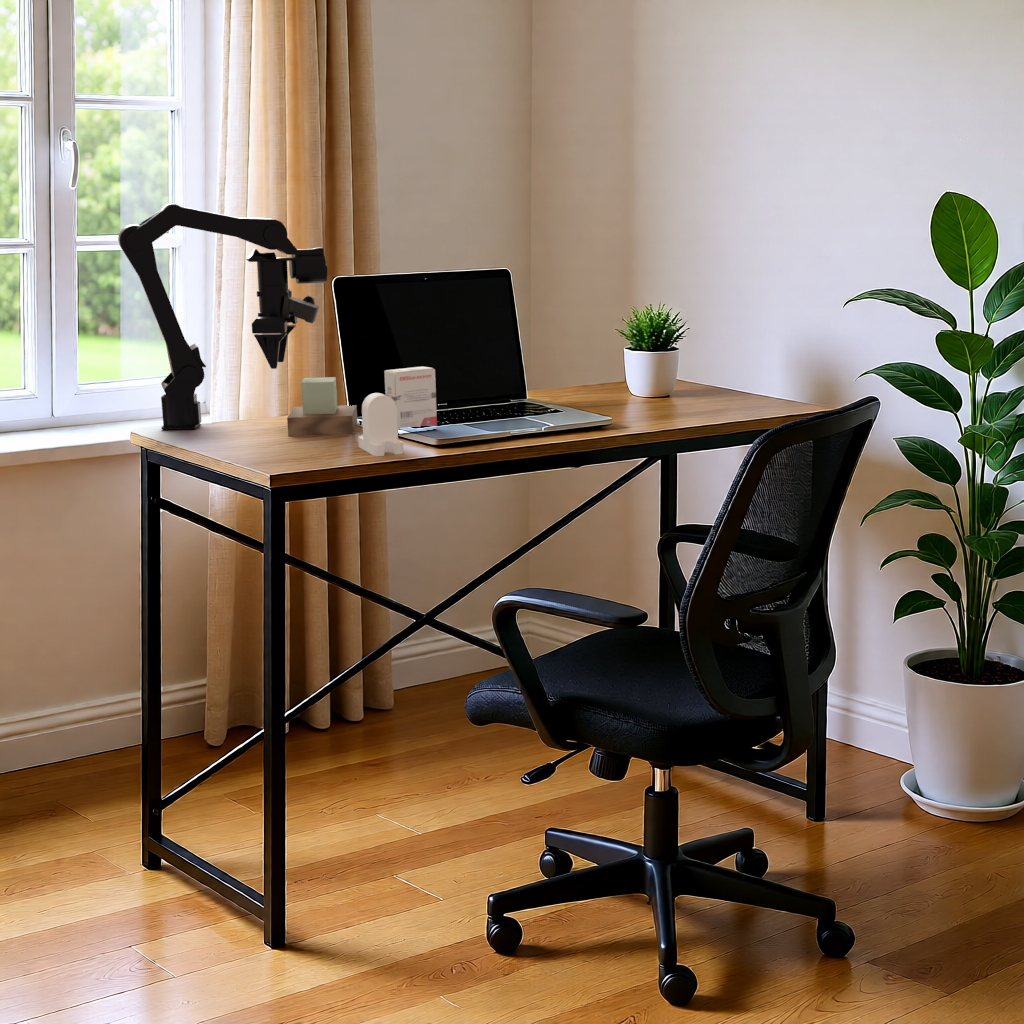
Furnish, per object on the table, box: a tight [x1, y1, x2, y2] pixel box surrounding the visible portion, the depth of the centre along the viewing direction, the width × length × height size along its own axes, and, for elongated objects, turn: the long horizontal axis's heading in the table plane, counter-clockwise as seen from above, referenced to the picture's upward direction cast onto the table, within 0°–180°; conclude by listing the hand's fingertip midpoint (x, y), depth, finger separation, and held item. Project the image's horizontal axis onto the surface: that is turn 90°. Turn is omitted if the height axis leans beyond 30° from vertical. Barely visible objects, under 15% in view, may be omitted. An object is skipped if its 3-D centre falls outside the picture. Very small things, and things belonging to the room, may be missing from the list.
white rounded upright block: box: [357, 392, 404, 457], centre depth 243 cm, size 5×10×10 cm, turn 23°
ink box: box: [383, 365, 438, 429], centre depth 260 cm, size 9×5×12 cm, turn 121°
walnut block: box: [286, 404, 358, 437], centre depth 264 cm, size 12×12×4 cm
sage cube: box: [300, 376, 339, 415], centre depth 263 cm, size 6×6×6 cm
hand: (277, 365), depth 272 cm, fingers open, 9 cm apart
